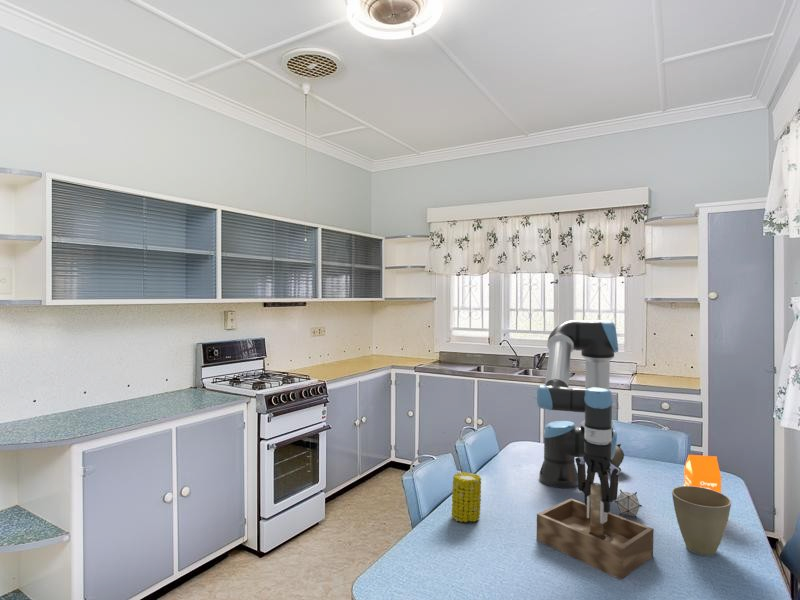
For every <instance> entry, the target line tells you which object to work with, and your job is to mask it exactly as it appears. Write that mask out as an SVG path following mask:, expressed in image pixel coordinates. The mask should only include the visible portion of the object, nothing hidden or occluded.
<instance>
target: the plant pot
mask: <svg viewBox="0 0 800 600" xmlns="http://www.w3.org/2000/svg"><path fill="white" fill-rule="evenodd" d="M671 494H672V495H671V496H672V503H673V507H674V512H675V516H676V520H677V524H678V526H679V530H680V534H681V536H682V538H683V542H684V543H685V547H686V548H687V550H689V551H690V552H692V553H695V554H696V555H700V556H708V557H709V556H710V557H711V556H714V555H715V554H716V553H717V551H718V549H719V547H720V545H721V542H722V539H723V537H724V534H725V531H726V528H727V524H728V522H729V517H730V511H731V506H732V500H731V499H730V498H729V497H728V496H727V495H726V494H724V493H722V492H721V493H720V492H717V491H714V490H711V489H707V488H702V487H696V486H684V485H681V486H680V485H679V486H676V487H673V488H672V489H671Z"/></svg>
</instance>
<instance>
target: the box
mask: <svg viewBox="0 0 800 600" xmlns="http://www.w3.org/2000/svg"><path fill="white" fill-rule="evenodd" d="M536 541H538V542H539V543H542V544H545V545H546V546H548V547H551V548H553V549H555V550H557V551H559V552H561V553H563V554H565V555H567V556H569V557H572V558H574V559H576V560H578V561H580V562H582V563H584V564H587V565H588V566H590V567H593V568H595V569H596V570H599V571H601V572H604V573H605V574H606V575H607V574H608V575H610V576H612V577H614V578H616V579H618V580H620V581H622V580H623V579H624V578H626V577H627V576H629V575H630V574H631V573H632V572H634V571H635V570H637V569H638V568H640V567H641V566H642V565H644V564H645V563H646V562H648V561H649V560H650V559H652V558H653V557H654V528H652V527H650V526H647V525H644V524H642V523H639V522H636V521H633V520H630V519H628V518H625V517H623V516H621V515H620V516H619V515H617V514H614V513H612V512H610V511H609V512H608V513H607V522H605V523H603V534H602V535H596V534H593V533H591V532H590V518H587V505H585V502H582V501H579V500H576V499H574V498H572V497H570V498H568V499H566V500H564V501H562V502H560V503H557V504H556V505H554V506H552V507H550V508H547V509H544V510H543V511H540V512H538V513H536Z"/></svg>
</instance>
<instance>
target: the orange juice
mask: <svg viewBox="0 0 800 600" xmlns="http://www.w3.org/2000/svg"><path fill="white" fill-rule="evenodd" d="M683 468H684V469H683V470H684V472H683V473H684V475H683V486H696V487H702V488H707V489H711V490H714V491H717V492H720V493H722V474H721V470H720V466H719V462H718V456H717V455H715V456H713V455H696V454H688V456H687V459H686V461H685V465H684V467H683Z"/></svg>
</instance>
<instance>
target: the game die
mask: <svg viewBox="0 0 800 600" xmlns="http://www.w3.org/2000/svg"><path fill="white" fill-rule="evenodd" d="M619 492H620V493H619V494H618V496H617V499H616V500H615V501H613V502H614V503H615V504H616V505H617V507H618V510H619V515H618V516H620V517H621V516H622V515H626V516H633V517H634V518H635V519H638V517H637V513H638V512H639V509H640V508H641V507H643V505H642V504H640V502H639V499H638V497H637V493H638V492H637V491H635V492H634V493H632V492H626V491H622V489H619Z"/></svg>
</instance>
